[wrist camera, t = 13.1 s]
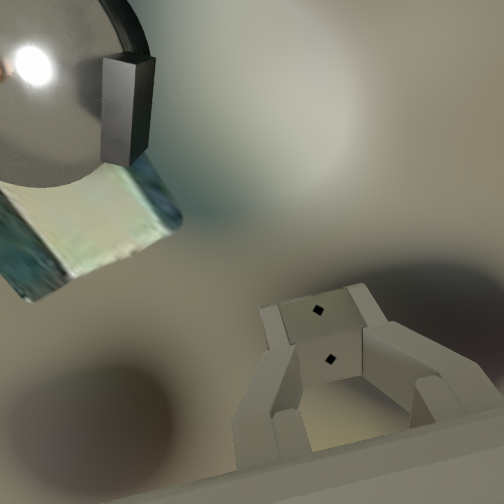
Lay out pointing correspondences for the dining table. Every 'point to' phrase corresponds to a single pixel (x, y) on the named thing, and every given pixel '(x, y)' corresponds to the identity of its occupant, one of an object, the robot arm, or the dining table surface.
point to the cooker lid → (68, 92)
